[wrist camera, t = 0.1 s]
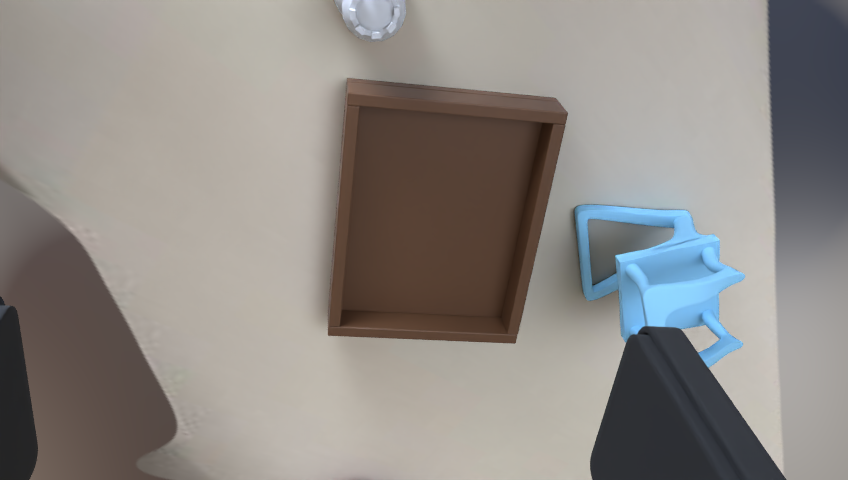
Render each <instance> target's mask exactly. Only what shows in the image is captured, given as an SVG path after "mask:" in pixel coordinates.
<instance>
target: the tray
mask: <svg viewBox="0 0 848 480" xmlns="http://www.w3.org/2000/svg"><path fill="white" fill-rule="evenodd" d="M567 115H568V113H567V111H566V110H565V109H564V108H563V106H562V105H561V104H560V103H559V102H558V100H557V99H556V98H550V97H540V96H529V95H519V94H508V93H498V92H487V91H477V90H466V89H456V88H445V87H435V86H424V85H414V84H403V83H393V82H383V81H372V80H362V79H351V78H347V86H346V98H345V110H344V122H343V135H342V147H341V159H340V172H339V184H338V196H337V208H336V221H335V233H334V245H333V258H332V270H331V282H330V294H329V307H328V335H329V336H351V337H375V338H398V339H422V340H446V341H469V342H493V343H516V339H517V334H518V331H519V326H520V322H521V318H522V313H523V309H524V304H525V300H526V296H527V291H528V287H529V282H530V278H531V274H532V269H533V265H534V261H535V256H536V252H537V247H538V243H539V239H540V234H541V230H542V225H543V221H544V217H545V212H546V208H547V204H548V199H549V195H550V190H551V186H552V182H553V177H554V173H555V168H556V164H557V160H558V155H559V151H560V146H561V142H562V138H563V133H564V129H565V124H566V120H567Z"/></svg>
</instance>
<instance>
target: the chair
mask: <svg viewBox="0 0 848 480" xmlns="http://www.w3.org/2000/svg"><path fill="white" fill-rule="evenodd" d="M588 219H601V220H609V221H617V222H624V223H632V224H640V225H648V226H657V227H669V228H674V236H673V238H672V239H670V240H669V241H667V242H665V243H662V244H660V245H657V246H654V247H651V248H649V249H646V250H640V251H634V252H629V253H625V254H620V255H616V256H615V257H616V271H617V273H616V274H614V275H612V276H610V277H609V278H607V279H605V280H603V281H602V282H600V283H598V284H596V285H593V286H592V277H591V264H590V251H589V238H588V225H587V222H588ZM575 222H576V231H577V241H578V250H579V260H580V270H581V279H582V289H583V293H584V295H585V298H586V299H587V300H588V301H592V300H596V299H598V298H601V297H603V296H606V295H608V294H610V293H612V292H614V291H616V290H618V289H619V303H620V327H621V336H622V337H623V339H624V341H625V342H627V340H628V338H629V337H630V335H633V334H638V331H639V330H640V329H641V328H642V327H644V326H657V327H676V328H679V329H685V328H691V327H697V326H703V325H706V326H707V327H708V328H709V329H710V330H711V331H712V332H713V333H714V334H715V335H716V336H717V337H718V338H719V339H720V340H719V341H717V342H716V343H715V344H713V345H712V346H710V347H709V348H707V349H705V350H703V351H701V352H698V354H699V355H700V357H701V358H702V360H703V361H704V363H705V364H706V365H707V367H708V368H709V367H710V366H712V365H713V364H715V363H716V362H717V361H719V360H720V359H721V358H723V357H724V356H725V355H727V354H728V353H730V352H732V351H734V350H736V349H739V348H741V347H742V346H743V343H742V342H741V341H739V340H738V339H736V338H735V337H733V336H731V335H730V334H729V333H728V332H727V331H726V329H725V328H724V327H723V326H722V325H721V323H720V322H719V293H720V292H721V291H723V290H724V289H726V288H727V287H729V286H731V285H733V284H735V283H738V282H740V281H742V280H743V279H744V278H745V275H744V274H743V273H741V272H739V271H737V270H735V269H733V268H731V267H729V266H726V265H724V264H722V263H720V262H719V256H720V240H719V239H718V238H717V237H716V236H715V235H714V234H711V235H707V236H705V235H701V234H699V233H697V231H696V230H695V227H694V223H693V219H692V217H691V215H690V213H689V212H688V211H687V210H653V209H640V208H629V207H618V206H605V205H580V206H577V207H576V208H575Z"/></svg>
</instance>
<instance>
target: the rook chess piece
mask: <svg viewBox="0 0 848 480" xmlns="http://www.w3.org/2000/svg"><path fill="white" fill-rule="evenodd" d="M334 2H335V4H336V6H337V8H338V10H339V12H340V13H341V14H342V15H343V19H344V21H345V23H346V25H347V27H348V29H349V30H350V31H351V32H352V33H353V34H354V35H356V36H357V37H358V38H360V39H363V40H366V41H369V42H376V41H384V40H386V39H388V38H390V37H392V36H394V34H395V33H396V32H397V31H398V30H399V29H400V28H401V26H402V24H403V21H404V18H405V15H406V5H405V0H334Z"/></svg>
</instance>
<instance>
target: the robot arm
mask: <svg viewBox="0 0 848 480" xmlns="http://www.w3.org/2000/svg"><path fill="white" fill-rule="evenodd" d="M37 453H38V445H37V437H36V431H35V425H34V418H33V411H32V405H31V398H30V391H29V385H28V378H27V372H26V365H25V359H24V352H23V345H22V339H21V332H20V325H19V319H18V314H17V310H16V308H15V307H13V306H5V304H4V301H3V299H2V298H1V297H0V480H29V479H30V477H31V475H32V473H33V470H34V468H35V464H36V460H37ZM590 470H591V476H592V479H593V480H786V479H785V477H784V476H783V474H782V473H781V471H780V470H779V468H778V467H777V466H776V464H775V463H774V461H773V460H772V458H771V457H770V456H769V454H768V453H767V451H766V450H765V448H764V447H763V446H762V444H761V443H760V441H759V440H758V438H757V437H756V436H755V434H754V433H753V431H752V430H751V428H750V427H749V426H748V424H747V423H746V421H745V420H744V418H743V417H742V416H741V414H740V413H739V411H738V410H737V408H736V407H735V405H734V404H733V403H732V401H731V400H730V398H729V397H728V395H727V394H726V393H725V391H724V390H723V388H722V387H721V385H720V384H719V383H718V381H717V380H716V378H715V377H714V375H713V374H712V373H711V371H710V370H709V368H708V367H707V365H706V364H705V363H704V361H703V360H702V358H701V357H700V355H699V354H698V352H697V351H696V350H695V348H694V347H693V345H692V344H691V342H690V341H689V340H688V338H687V337H686V335H685V334H684V332H683V331H682V330H681V329H679V328H676V327H657V326H644V327H642V328H641V329H640V330H639V331H638V334H633V335H630V337H629V338H628V340H627V342H626V346H625V349H624V352H623V355H622V358H621V362H620V365H619V368H618V371H617V374H616V377H615V381H614V384H613V387H612V390H611V393H610V397H609V400H608V403H607V406H606V409H605V413H604V416H603V419H602V422H601V425H600V429H599V432H598V435H597V438H596V441H595V445H594V448H593V451H592V454H591V460H590Z"/></svg>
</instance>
